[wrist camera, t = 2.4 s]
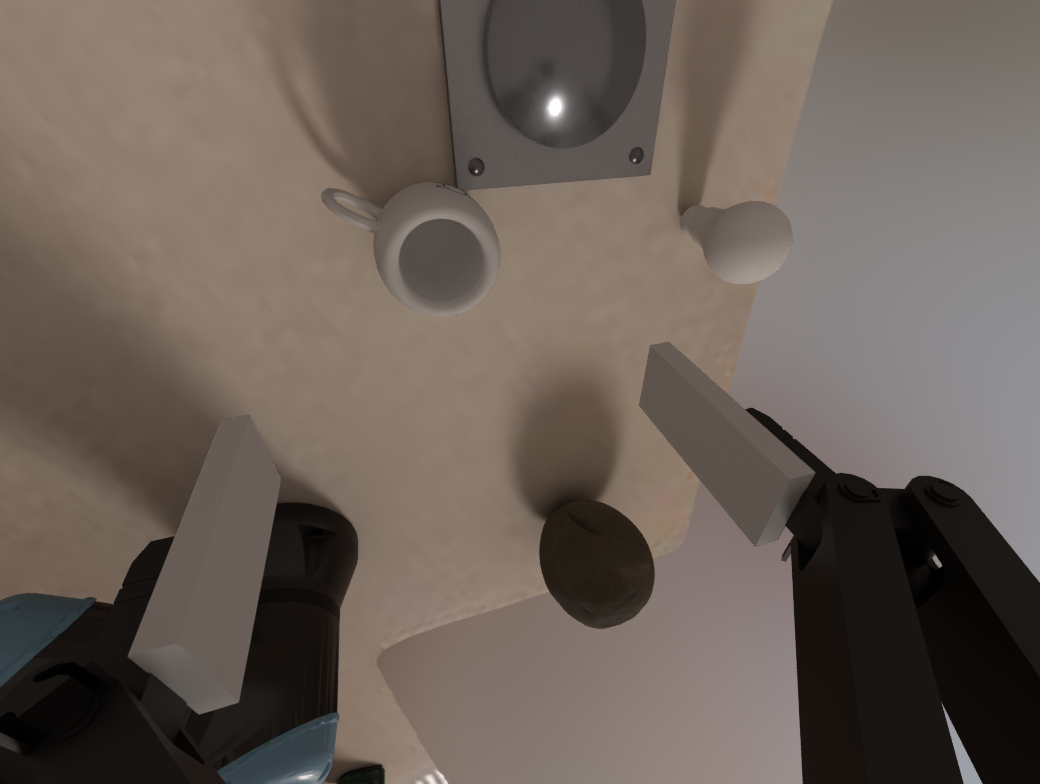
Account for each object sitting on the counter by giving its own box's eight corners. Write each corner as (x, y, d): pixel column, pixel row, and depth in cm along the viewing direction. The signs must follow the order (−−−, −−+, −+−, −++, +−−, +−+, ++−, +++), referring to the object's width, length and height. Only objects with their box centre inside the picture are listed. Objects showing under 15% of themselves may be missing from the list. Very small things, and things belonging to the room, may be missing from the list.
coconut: (508, 545, 62) (543, 655, 50) (551, 471, 55) (602, 578, 44) (589, 546, 68) (637, 645, 56) (636, 481, 62) (700, 576, 50)
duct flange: (456, 188, 33) (461, 194, 32) (426, -130, 24) (430, -144, 22) (645, 173, 37) (657, 177, 35) (684, -110, 27) (704, -120, 26)
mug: (499, 203, 35) (528, 232, 29) (455, 296, 38) (473, 339, 32) (343, 120, 29) (340, 133, 23) (307, 238, 33) (296, 277, 26)
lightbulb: (729, 205, 41) (826, 241, 32) (684, 261, 43) (764, 309, 35) (690, 166, 38) (788, 194, 29) (644, 229, 40) (722, 272, 31)
